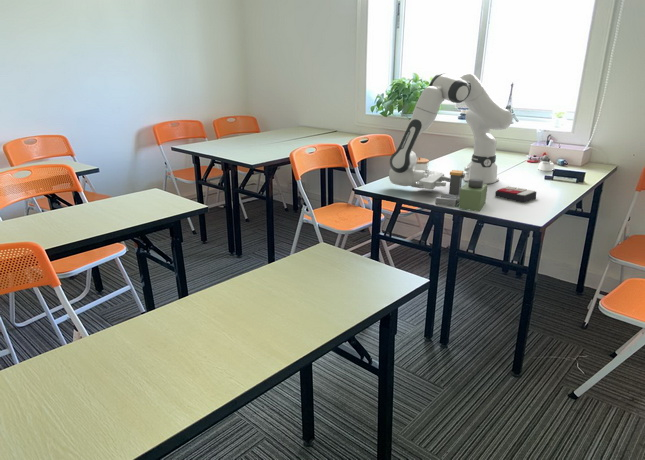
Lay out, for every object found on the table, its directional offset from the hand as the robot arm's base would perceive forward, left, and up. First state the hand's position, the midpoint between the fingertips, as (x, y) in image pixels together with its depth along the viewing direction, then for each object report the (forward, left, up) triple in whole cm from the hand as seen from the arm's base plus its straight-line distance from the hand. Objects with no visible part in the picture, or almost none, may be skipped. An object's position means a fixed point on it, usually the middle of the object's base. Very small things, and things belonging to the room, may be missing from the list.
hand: (448, 182), depth 228 cm
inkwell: (-46, +69, -7) cm, 83 cm away
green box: (+18, +7, -7) cm, 20 cm away
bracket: (+12, -3, -7) cm, 14 cm away
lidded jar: (-46, -4, -7) cm, 47 cm away
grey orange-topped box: (+2, +3, -7) cm, 7 cm away
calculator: (+6, +31, -7) cm, 32 cm away
